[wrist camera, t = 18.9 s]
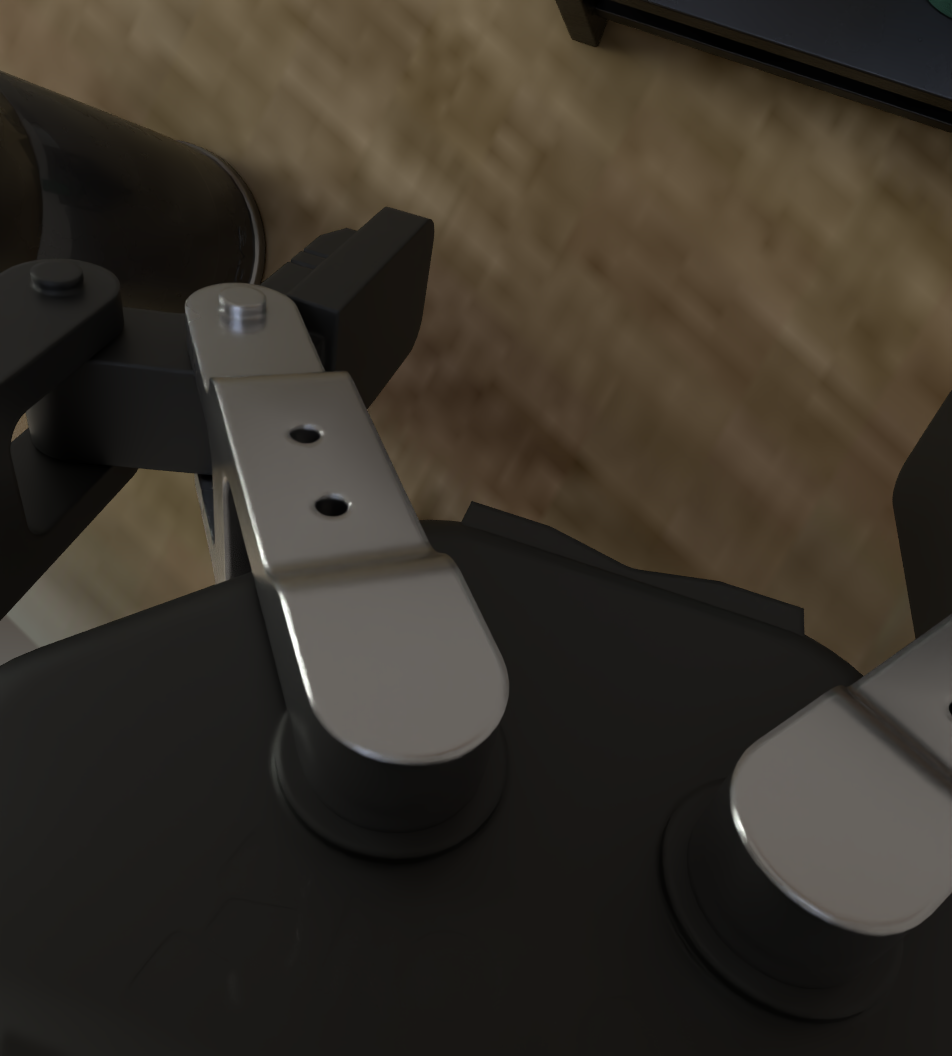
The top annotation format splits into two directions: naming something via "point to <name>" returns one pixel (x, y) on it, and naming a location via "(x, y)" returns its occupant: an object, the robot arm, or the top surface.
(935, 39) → the black rectangular case
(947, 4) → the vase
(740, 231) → the top surface
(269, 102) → the top surface
